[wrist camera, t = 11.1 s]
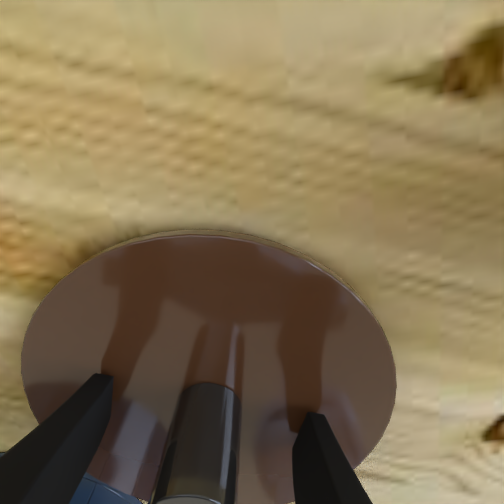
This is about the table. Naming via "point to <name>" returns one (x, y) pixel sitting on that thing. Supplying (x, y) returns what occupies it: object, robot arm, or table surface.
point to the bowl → (99, 493)
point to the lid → (210, 363)
